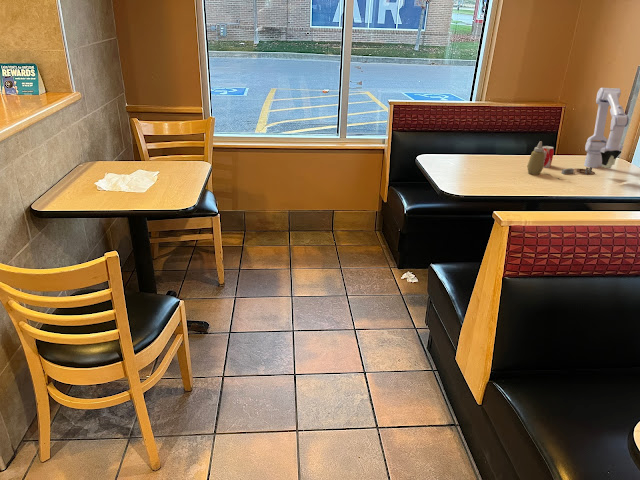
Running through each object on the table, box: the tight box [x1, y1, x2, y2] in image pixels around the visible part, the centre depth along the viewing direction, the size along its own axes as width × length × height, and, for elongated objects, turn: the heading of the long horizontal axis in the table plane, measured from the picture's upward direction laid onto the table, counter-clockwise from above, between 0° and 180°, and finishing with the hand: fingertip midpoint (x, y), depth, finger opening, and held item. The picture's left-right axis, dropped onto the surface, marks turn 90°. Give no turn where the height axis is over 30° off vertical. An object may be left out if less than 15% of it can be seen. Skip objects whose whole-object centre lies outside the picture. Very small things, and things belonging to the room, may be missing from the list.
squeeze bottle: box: [526, 140, 545, 176], centre depth 255 cm, size 8×8×18 cm
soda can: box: [542, 145, 555, 168], centre depth 267 cm, size 7×7×12 cm
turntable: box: [561, 166, 596, 176], centre depth 258 cm, size 20×12×4 cm, turn 107°
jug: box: [601, 155, 617, 169], centre depth 247 cm, size 6×4×6 cm
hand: (607, 164), depth 248 cm, fingers closed on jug, 4 cm apart
